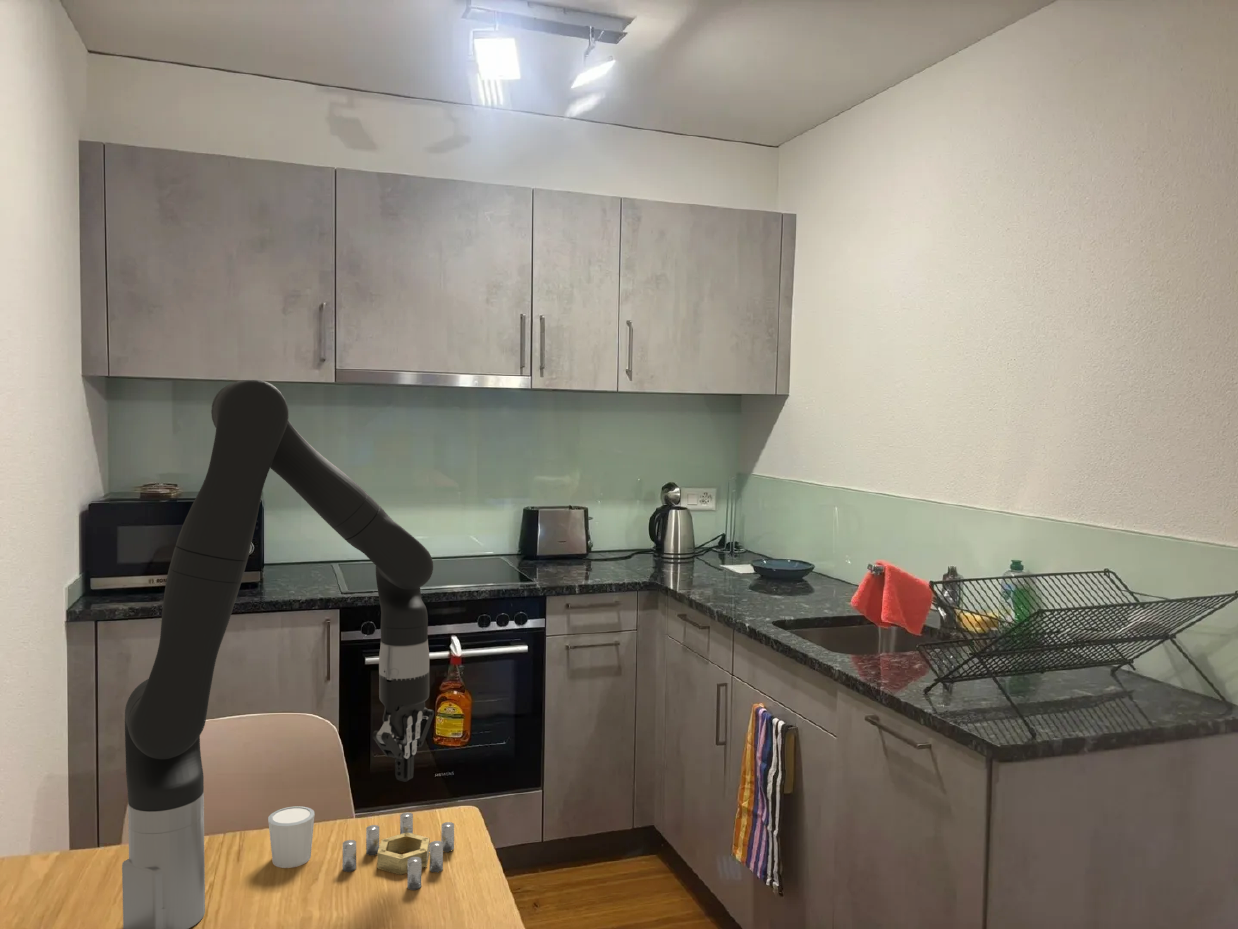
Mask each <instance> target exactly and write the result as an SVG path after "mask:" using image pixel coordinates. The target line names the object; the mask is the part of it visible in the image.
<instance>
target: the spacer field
mask: <svg viewBox="0 0 1238 929" xmlns="http://www.w3.org/2000/svg"><path fill="white" fill-rule="evenodd" d="M399 816H400V817H399V818H400V820H399V823H400V824H399V827H400V829H399V831H400V834H403V833H407V832H408V833H412V834H414V826H413V825H414V814H413V813H412V812H409V811H406V812H402V813H401V814H400V815H399ZM440 828H441V829H440V830H441V832H440V834H441V835H440V836H441V840H433V841H431V842H430V853H429V872H430V871H431V873H433V872H437V873H440V872H442V871H443V869H444V868H443V867H444V853H450V852H449V851H451V850H453V849H454V850H455V823H454V822H451V821H447V822H443V823H442V824H441V827H440ZM365 830H366V831H365V833H366V834H365V837H366V839H365V843H366V845H365V847H366V848H365V850H366V851H365V853H366V856H371V857H373V856H377V853H378V850H379V847H380V826H379V825H378V824H372V825H367V827H366V828H365ZM400 834H399V835H400ZM454 850H453V851H454ZM443 851H444V852H443ZM451 852H452V851H451ZM356 869H357V841H356V840H354V839H348V840H345V841H343V842H342V871H343V872H346V873H348V872H349V873H351V872H354V871H355V870H356ZM439 871H440V872H439ZM406 874H407V878H406V880H407V882H406V883H407V889H408V890H411V891H416V890H419V889H421V887H422V868H421V858H420V857H411V858H409V859H408V864H407V873H406Z"/></svg>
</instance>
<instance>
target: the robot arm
mask: <svg viewBox="0 0 1238 929" xmlns="http://www.w3.org/2000/svg"><path fill="white" fill-rule="evenodd" d="M210 413H211V421H212V422H213V425H214V428H215V433H214V441H213V446H212V452H211V456H210V461H209V463H208V464H209V466H208V469H207V472H206V475H205V478H204V480H203V483H202V485H201V487H200V489H199V491H198V493H197V495H196V497H195V499H194V501H193V502H192V504H191V506H190V508H189V510H188V513H187V515H186V517H185V519H184V521H183V524H182V526H181V529H180V532H179V533H178V536H177V540H176V543H175V546H174V549H173V553H172V557H171V560H170V564H169V568H168V572H167V575H166V582H165V586H164V587H165V588H164V593H163V602H162V608H161V609H162V613H161V620H160V621H161V623H160V636H159V642H158V643H159V644H158V648H157V652H156V656H155V659H154V663H153V665H152V667H151V671H150V674H149V677H148V678H147V679H146V680H144V681H142V682H141V683H139V684H138V685H137V686H136V687H135V688H134V690H132V692H131V694H130V695H129V697H128V699H127V702H126V704H125V710H124V743H125V744H124V745H125V746H124V747H125V777H126V786H127V790H126V791H127V813H128V814H127V815H128V816H127V818H128V819H127V820H128V824H127V826H128V827H127V828H128V830H127V831H128V858H127V859H126V860H123V862H122V865H121V872H122V875H121V876H122V878H121V880H122V884H121V885H122V929H191V928H192V927H194V926H195V925H196V924H198V923H199V922H201V920H202V919H203V918H204V917H205V913H206V884H205V882H206V881H205V878H206V876H205V875H206V874H205V873H206V872H205V871H206V870H205V868H206V866H205V794H204V792H205V791H204V784H205V783H204V777H205V776H204V770H203V761H202V756H201V755H202V754H201V738H200V737H201V734H202V732H203V730H204V728H205V726H206V721H207V714H208V710H209V701H210V694H211V689H212V688H211V687H212V684H213V676H214V671H215V666H216V663H217V662H216V661H217V657H218V654H219V650H220V648H221V645H222V643H223V642H222V641H223V639H224V636H225V634H226V630H227V628H228V625H229V621H230V619H231V616H232V613H233V609H234V607H235V603H236V600H237V598H238V594H239V591H240V588H241V584H242V581H243V577H244V574H245V571H246V566H247V563H248V560H249V555H250V551H251V547H252V542H253V539H254V533H255V528H256V524H257V520H258V515H259V510H260V504H261V499H262V494H263V490H264V487H265V483H266V479H267V477H268V474H269V472H270V469H271V470H272V471H273V472H274V473H276V474H277V475H278V476H279V477H280V478H281V479H283V481H284V482H286V483H287V484H288V485H289V486H290V487H291V488H292V489H293V490H294V491H295V492H296V493H297V494H298V495H299V496H300V497H301V498H302V499H303V500H304V501H305V503H307V505H309V506H310V507H311V509H312V510H314V511H315V512H316V514H317V515H319V516H320V518H322V519H323V520H324V521H325V522H326V523H327V525H329V526H330V527H331V528H332V529H333V530H334V531H335V532H336V533H337V535H339V536H340V537H341V538H342V539H344V541H346V542H347V543H348V544H350V545H351V546H352V547H353V548H354V549H356V550H358V551H360V552H361V553H362V554H364V555H365V556H366V557H367V558H368V559H369V561H371V562H372V563H373V564H374V565H375V578H376V586H377V594H378V599H379V604H380V613H381V614H380V645H379V646H380V649H379V653H378V654H379V655H378V656H379V658H378V675H379V676H378V679H379V682H378V686H379V687H378V688H379V689H378V695H379V696H378V697H379V701H380V702H381V703H382V704H383V706H384V712H383V715H382V722H383V723H382V726H381V727H380V729H379V730H374V731H373V732H372V734H371V735H372V736H371V737H372V740H374V741H375V743H376V745H378V747H379V749H380V750H381V751H382V753H383V755H384V756H385V757H386V758H394V760H395V762H394V772H395V773H394V776H395V779H396V780H397V781H399V782H408V781H409V780H412V779H413V778H414V771H415V767H414V766H415V755H416V753H417V750H418V748H422V747H423V745H424V742H425V740H426V738H427V735H428V733H429V729H430V727H431V724H432V721H433V719H434V717H435V710H434V709H430V708H429V709H428V708H427V707H426V701H427V700H428V699H429V697H430V650H429V638H428V635H429V634H428V633H429V632H428V631H429V630H428V626H429V620H428V619H429V618H428V617H429V616H428V610H427V607H426V605H425V603H424V601H423V600H422V595H421V594H422V593H421V587H423V586H425V585H426V584H427V583H428V582H429V580H431V578H432V575H433V571H434V562H433V558H432V555H431V554H430V552H429V551H428V549H427V548H426V547H425V546H424V545H423V544H422V543H421V542H420V541H419V540H418V539H416V537H415V536H413V535H412V534H411V533H409V532H408V531H407V530H406V529H404V528H403V527H402V526H401V525H400V524H398V523H397V522H396V521H394V519H393V518H391V517H390V516H389V515H388V513H387V512H386V510H384V509H383V508H382V506H380V504H378V502H376V501H375V500H374V498H373V497H372V496H370V495H369V494H368V493H367V492H366V491H365V490H364V488H362V487H361V486H360V485H359V484H358V483H357V482H355V480H354V479H352V478H351V477H350V476H349V475H348V474H346V473H345V472H344V471H342V470H341V469H340V468H339V467H337V466H336V465H335V464H333V463H332V462H331V461H330V460H329V459H327V458H326V457H325V456H323V454H321V453H320V452H319V451H317V449H315V448H314V447H313V446H312V445H311V444H310V443H309V442H308V441H307V440H306V439H305V438H304V437H303V436H302V435H301V434H300V433H299V431H298V430H297V429H296V428H295V427H294V425H293V424H292V422H291V421H290V420H289V414H290V412H289V407H288V402H287V400H286V398H285V397H284V395H283V394H282V392H281V391H280V390H279V388H277V387H276V386H274V384H272V383H270V382H268V381H265V380H259V379H242V380H237V381H233V382H230V383H229V384H227V385H225V386H223V387H222V388H221V389H220V390H219V391H218V392H217V393H216V395H215V397H214V398H213V401H212V403H211V411H210Z"/></svg>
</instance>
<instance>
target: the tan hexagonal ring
mask: <svg viewBox="0 0 1238 929" xmlns="http://www.w3.org/2000/svg"><path fill="white" fill-rule="evenodd" d="M430 839H431V838H430V837H427V836H423V835H420V834H416V833H413V834H412V833H408V832H407V833H403V834H397V835H392V836H389V837H386V838H383V839H380V840H381V841H380V842H379V850H378V853H377V855H376V856H377V858H376V859H377V861H376V863H377V866H376V867H377V869H378V870H381V871H385V872H388V873H393V874H395V875H399V876H401V875H404V874H407V864H408V859H409V858H411V857H420V858H421V869H424V867H425V868H427V867H428V863H429V859H430V853H429V852H430V843H431V842H430V841H431V840H430ZM401 852H402V853H403V854H402V853H401ZM405 852H406V853H405ZM398 853H399V854H398ZM426 866H427V867H426Z"/></svg>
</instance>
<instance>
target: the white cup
mask: <svg viewBox="0 0 1238 929" xmlns="http://www.w3.org/2000/svg"><path fill="white" fill-rule="evenodd" d="M315 817H316V816H315V810H314V809H312V808H311V807H307V806H299V805H298V806H297V805H296V806H288V807H283V808H281V809H277V810H275V811H274V812H272V813H270V815H268V817H267V819H268V831H269V840H270V850H271V857H272V858H271V859H272V864H273V865H274V866H275V867H277V868H281V869H289V868H297V867H300V866H302V865H304V864H307V862H309V860H310V859H311V857H312V847H313V837H314V836H313V834H314V824H315Z"/></svg>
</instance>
